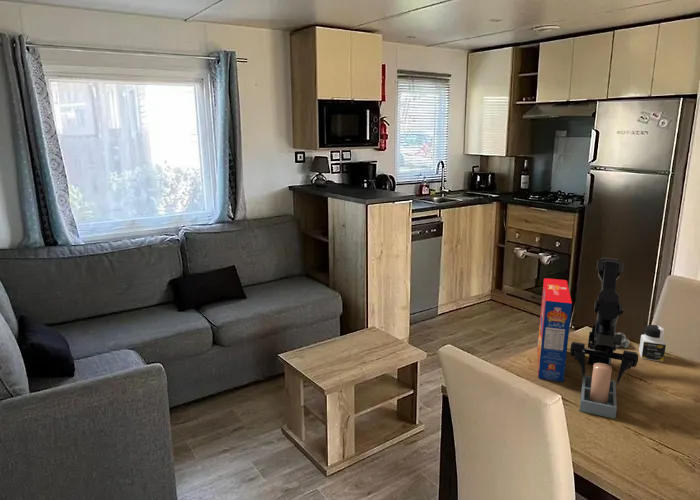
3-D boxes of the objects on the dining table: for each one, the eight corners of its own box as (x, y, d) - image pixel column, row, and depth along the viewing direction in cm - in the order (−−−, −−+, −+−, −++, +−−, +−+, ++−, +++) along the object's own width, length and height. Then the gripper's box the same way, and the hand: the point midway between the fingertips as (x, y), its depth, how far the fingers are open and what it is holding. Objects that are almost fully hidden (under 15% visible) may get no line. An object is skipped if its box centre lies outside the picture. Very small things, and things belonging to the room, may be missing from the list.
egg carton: (623, 341, 205) (624, 332, 204) (630, 349, 197) (632, 339, 196) (595, 340, 206) (596, 330, 205) (602, 347, 198) (603, 338, 198)
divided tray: (581, 384, 169) (583, 374, 168) (614, 390, 165) (615, 381, 164) (579, 410, 153) (580, 400, 152) (615, 418, 149) (616, 408, 148)
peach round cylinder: (584, 403, 156) (589, 364, 153) (596, 400, 158) (601, 361, 155) (598, 411, 152) (603, 371, 149) (610, 408, 154) (615, 368, 151)
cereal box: (537, 346, 199) (544, 278, 193) (559, 349, 196) (566, 280, 190) (538, 378, 173) (545, 300, 167) (563, 382, 171) (572, 303, 164)
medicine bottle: (641, 358, 188) (645, 328, 186) (638, 351, 195) (642, 322, 192) (663, 362, 186) (668, 331, 183) (660, 354, 192) (664, 324, 189)
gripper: (574, 317, 159) (568, 364, 152) (642, 328, 151) (639, 377, 144) (572, 332, 168) (567, 377, 161) (637, 342, 160) (634, 390, 153)
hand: (600, 380), depth 154 cm, fingers open, 9 cm apart
